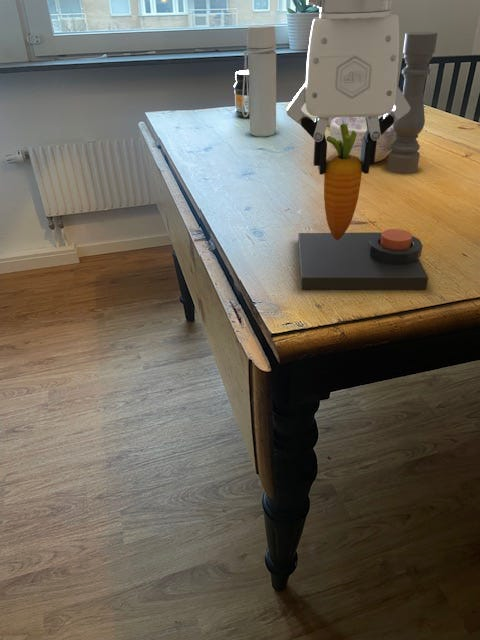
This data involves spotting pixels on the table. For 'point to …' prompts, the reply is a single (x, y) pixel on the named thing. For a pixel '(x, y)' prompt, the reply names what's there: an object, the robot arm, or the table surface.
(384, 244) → the button
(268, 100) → the water bottle
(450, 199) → the table surface
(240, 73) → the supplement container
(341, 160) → the carrot
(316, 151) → the robot arm
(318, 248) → the black push button box
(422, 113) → the candle holder
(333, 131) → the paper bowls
